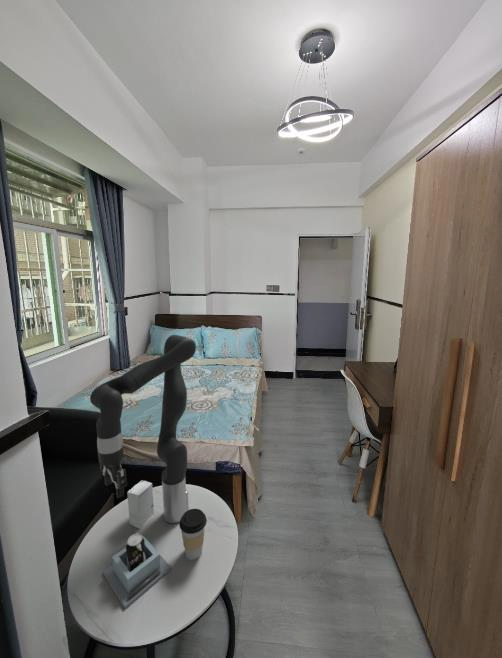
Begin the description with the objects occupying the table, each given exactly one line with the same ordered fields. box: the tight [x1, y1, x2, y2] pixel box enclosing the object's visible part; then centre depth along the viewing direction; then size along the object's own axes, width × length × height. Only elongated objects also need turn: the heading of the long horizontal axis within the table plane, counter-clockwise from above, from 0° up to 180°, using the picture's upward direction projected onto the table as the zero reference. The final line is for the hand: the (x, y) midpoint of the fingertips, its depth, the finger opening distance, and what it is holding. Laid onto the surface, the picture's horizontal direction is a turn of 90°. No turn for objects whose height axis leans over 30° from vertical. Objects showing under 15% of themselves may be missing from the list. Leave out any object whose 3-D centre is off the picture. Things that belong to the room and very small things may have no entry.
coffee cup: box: [179, 508, 208, 561], centre depth 104 cm, size 9×9×15 cm
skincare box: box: [126, 479, 155, 530], centre depth 118 cm, size 8×6×15 cm
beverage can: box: [125, 533, 146, 572], centre depth 97 cm, size 6×6×12 cm
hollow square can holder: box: [102, 535, 172, 610], centre depth 98 cm, size 16×16×6 cm
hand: (114, 490), depth 97 cm, fingers open, 8 cm apart
